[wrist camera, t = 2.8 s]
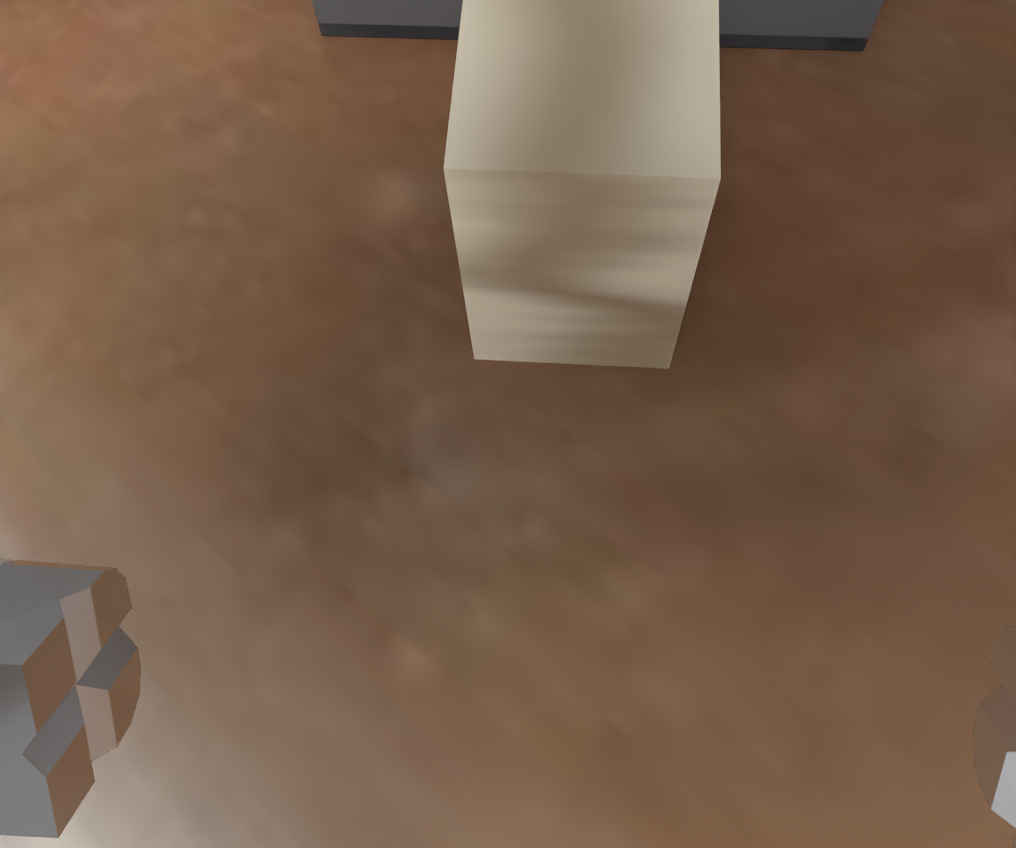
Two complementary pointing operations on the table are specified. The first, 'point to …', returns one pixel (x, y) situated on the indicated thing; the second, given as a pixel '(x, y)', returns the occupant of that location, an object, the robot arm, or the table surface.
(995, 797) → the robot arm
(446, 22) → the tray
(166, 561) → the table surface
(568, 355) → the birch block
